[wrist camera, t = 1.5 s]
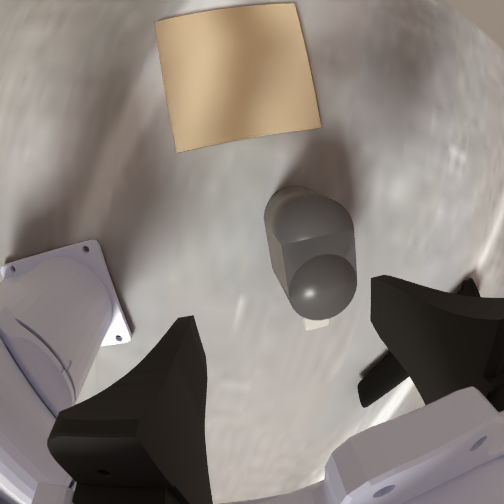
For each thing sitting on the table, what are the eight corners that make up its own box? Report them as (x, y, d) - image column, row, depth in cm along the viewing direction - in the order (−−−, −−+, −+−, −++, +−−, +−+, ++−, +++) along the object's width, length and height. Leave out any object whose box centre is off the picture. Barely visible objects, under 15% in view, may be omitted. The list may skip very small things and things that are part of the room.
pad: (177, 152, 18) (176, 152, 18) (155, 25, 15) (154, 22, 15) (318, 128, 19) (321, 127, 18) (292, 6, 16) (294, 3, 15)
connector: (259, 192, 20) (274, 205, 15) (318, 181, 20) (350, 192, 15) (279, 314, 23) (296, 354, 18) (331, 301, 23) (358, 337, 18)
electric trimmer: (342, 376, 26) (355, 399, 23) (467, 272, 25) (488, 285, 22) (358, 394, 28) (370, 416, 25) (474, 298, 26) (493, 311, 23)
